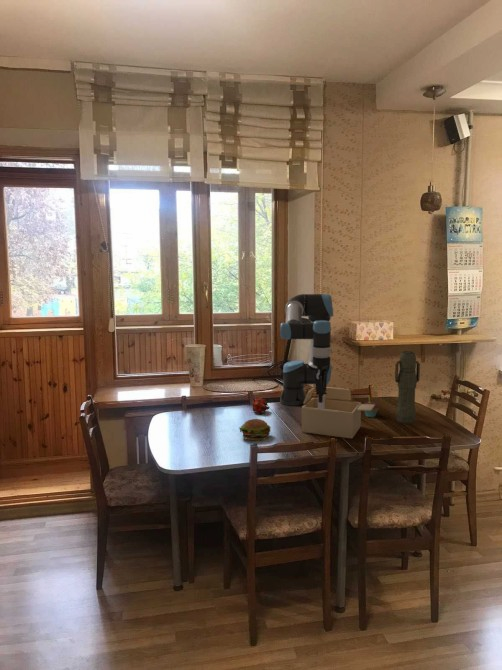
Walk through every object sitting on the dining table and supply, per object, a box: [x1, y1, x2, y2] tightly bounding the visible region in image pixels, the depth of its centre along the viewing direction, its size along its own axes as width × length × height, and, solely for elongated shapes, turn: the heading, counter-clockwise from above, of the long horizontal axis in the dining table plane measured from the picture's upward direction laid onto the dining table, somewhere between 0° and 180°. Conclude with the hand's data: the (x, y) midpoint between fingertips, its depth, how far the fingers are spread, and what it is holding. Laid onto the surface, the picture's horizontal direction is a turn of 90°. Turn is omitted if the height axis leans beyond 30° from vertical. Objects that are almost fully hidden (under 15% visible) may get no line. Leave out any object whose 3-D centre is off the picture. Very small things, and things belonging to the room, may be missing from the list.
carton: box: [301, 397, 362, 439], centre depth 245 cm, size 24×18×12 cm
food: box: [238, 418, 271, 442], centre depth 237 cm, size 14×14×8 cm
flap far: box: [324, 386, 352, 402], centre depth 251 cm, size 14×1×6 cm, turn 66°
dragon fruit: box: [251, 397, 270, 415], centre depth 273 cm, size 8×8×12 cm
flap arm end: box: [303, 386, 315, 405], centre depth 248 cm, size 1×9×6 cm, turn 158°
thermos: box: [394, 350, 421, 425], centre depth 255 cm, size 9×12×35 cm
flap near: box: [307, 408, 341, 412], centre depth 232 cm, size 14×1×6 cm
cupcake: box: [363, 394, 380, 418], centre depth 265 cm, size 9×8×12 cm
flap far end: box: [357, 403, 375, 412], centre depth 238 cm, size 1×9×6 cm
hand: (321, 408), depth 227 cm, fingers closed
